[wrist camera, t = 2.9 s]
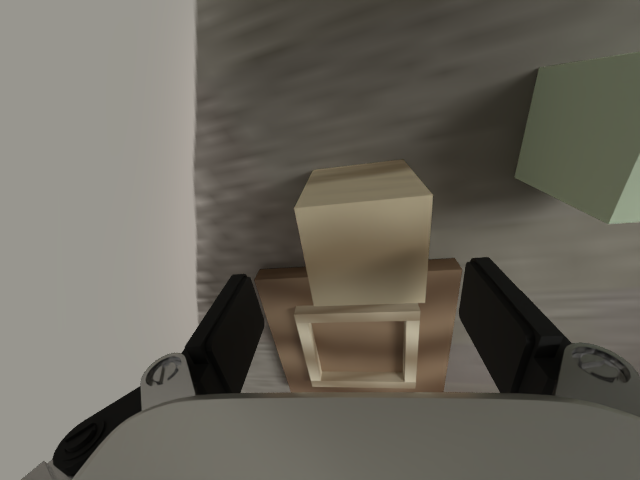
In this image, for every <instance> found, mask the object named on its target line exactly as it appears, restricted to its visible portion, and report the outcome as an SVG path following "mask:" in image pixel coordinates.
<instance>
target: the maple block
mask: <svg viewBox="0 0 640 480" xmlns="http://www.w3.org/2000/svg"><path fill="white" fill-rule="evenodd" d="M432 203H433V194H432V193H431V192H430V191H429V189H428V188H427V187H426V186H425V185H424V184H423V182H422V181H421V180H420V179H419V178H418V176H417V175H416V174H415V173H414V172H413V171H412V169H411V168H410V167H409V166H408V165H407V163H406V162H405V161H404V160H403V159H402V160H393V161H385V162H376V163H368V164H359V165H351V166H342V167H334V168H325V169H317V170H313V171H312V173H311V175H310V177H309V179H308V181H307V183H306V185H305V187H304V189H303V191H302V193H301V195H300V197H299V199H298V201H297V203H296V205H295V207H294V210H295V215H296V220H297V225H298V230H299V235H300V240H301V245H302V250H303V255H304V260H305V265H306V270H307V274H308V279H309V284H310V289H311V294H312V299H313V304H314V306H344V305H375V304H405V303H425V297H426V284H427V270H428V257H429V244H430V230H431V217H432Z"/></svg>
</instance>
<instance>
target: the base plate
mask: <svg viewBox="0 0 640 480" xmlns="http://www.w3.org/2000/svg"><path fill="white" fill-rule="evenodd" d="M461 275H462V268H461V267H460V265H459V264H458V262H457V261H456V259H455V258H449V259H432V260H428V270H427V284H426V297H425V303H405V304H375V305H344V306H314V304H313V299H312V294H311V289H310V284H309V279H308V274H307V270H306V267H292V268H274V269H260V270H259V272H258V274H257V276H256V278H255V279H254V281H255V284H256V287H257V290H258V293H259V296H260V299H261V302H262V305H263V308H264V311H265V314H266V318H267V321H268V324H269V327H270V330H271V333H272V336H273V339H274V342H275V345H276V348H277V351H278V354H279V357H280V360H281V363H282V366H283V369H284V372H285V375H286V378H287V381H288V384H289V387H290V390H291V393H299V392H443V391H444V385H445V378H446V372H447V365H448V359H449V352H450V346H451V339H452V333H453V326H454V320H455V313H456V307H457V300H458V294H459V288H460V281H461Z"/></svg>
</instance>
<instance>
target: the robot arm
mask: <svg viewBox="0 0 640 480" xmlns="http://www.w3.org/2000/svg"><path fill="white" fill-rule="evenodd" d="M459 316H460V319H461V321H462V323H463V325H464V327H465V329H466V331H467V333H468V334H469V336H470V338H471V340H472V342H473V344H474V345H475V347H476V349H477V351H478V353H479V355H480V356H481V358H482V360H483V362H484V364H485V366H486V367H487V369H488V371H489V373H490V375H491V377H492V378H493V380H494V382H495V384H496V386H497V388H498V389H499V391H500V393H473V392H299V393H240V392H241V390H242V387H243V384H244V381H245V379H246V376H247V373H248V370H249V367H250V365H251V362H252V359H253V356H254V353H255V351H256V348H257V345H258V342H259V340H260V337H261V334H262V331H263V328H264V318H263V315H262V312H261V309H260V306H259V302H258V299H257V296H256V293H255V290H254V287H253V284H252V281H251V278H250V277H247V275H246V274H237V275H232V276H231V277H230V279H229V280H228V282H227V283H226V285H225V286H224V288H223V289H222V291H221V292H220V294H219V295H218V297H217V298H216V300H215V302H214V303H213V305H212V306H211V308H210V309H209V311H208V312H207V314H206V315H205V317H204V318H203V320H202V321H201V323H200V324H199V326H198V327H197V329H196V330H195V332H194V333H193V335H192V337H191V338H190V340H189V341H188V343H187V344H186V346H185V349H184V351H183V352H182V353H171V354H168V355H165V356H163V357H161V358H159V359H158V360H156V361H155V362H154V363H152V364H151V365H150V366H149V367H148V369H147V370H146V371H145V372H144V374H143V376H142V378H141V383H140V385H141V386H140V387H138V388H137V389H135V390H134V391H132V392H130V393H128V394H127V395H125V396H124V397H122V398H120V399H119V400H117V401H115V402H114V403H112V404H110V405H109V406H107V407H106V408H104V409H102V410H101V411H99V412H97V413H96V414H94V415H93V416H91V417H89V418H88V419H86V420H84V421H83V422H82V423H80V424H79V425H77V426H76V427H75V428H74V429H72V430H71V431H70V432H69V433H68V434H67V435H66V436H65V438H64V439H63V440H62V441H61V442H60V444H59V445H58V447H57V449H56V450H55V453H54V456H53V459H52V460H51V461H50V462H49V463H46V462H45V461H43V462H42V463H40V464H39V465H38V466H37V467H36V468H34V469H33V470H32V471H31V472H30V473H28V474H27V475H26V476H25V477H23V478H22V479H21V480H640V378H639V375H638V372H637V371H636V370H635V369H634V367H633V366H632V365H631V364H630V363H628V362H627V361H626V360H625V359H624V358H622V357H620V356H619V355H617V354H615V353H614V352H612V351H610V350H607V349H605V348H603V347H600V346H597V345H593V344H589V343H581V342H580V343H571V342H570V341H569V340H568V339H567V338H566V337H565V336H564V335H563V334H562V333H561V332H560V331H559V330H558V329H557V327H556V326H555V325H554V324H553V323H552V322H551V321H550V320H549V319H548V318H547V317H546V316H545V315H544V314H543V313H542V312H541V311H540V310H539V309H538V308H537V307H536V306H535V304H534V303H533V302H532V301H531V300H530V299H529V298H528V297H527V296H526V295H525V294H524V293H523V292H522V291H521V290H519V288H518V287H517V286H516V285H515V284H514V283H513V282H512V281H511V280H510V279H509V278H508V277H507V276H506V275H505V274H504V273H503V272H502V271H501V270H500V269H499V267H498V266H497V265H496V264H495V263H494V262H493V261H492V260H491V259H490V258H488V257H483V258H472V259H471V261H470V262H467V263H466V267H465V274H464V281H463V288H462V294H461V301H460V308H459Z"/></svg>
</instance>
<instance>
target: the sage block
mask: <svg viewBox="0 0 640 480" xmlns="http://www.w3.org/2000/svg"><path fill="white" fill-rule="evenodd" d="M514 178H516V179H518V180H520V181H522V182H524V183H526V184H528V185H530V186H532V187H534V188H536V189H538V190H540V191H542V192H544V193H546V194H548V195H550V196H552V197H554V198H556V199H558V200H560V201H562V202H564V203H566V204H568V205H571V206H573V207H575V208H577V209H579V210H581V211H583V212H585V213H587V214H589V215H591V216H593V217H595V218H597V219H599V220H601V221H603V222H605V223H607V224H619V223H633V222H640V52H634V53H627V54H621V55H615V56H609V57H602V58H596V59H590V60H584V61H577V62H571V63H565V64H559V65H552V66H546V67H540V68H539V70H538V75H537V79H536V83H535V88H534V92H533V97H532V101H531V106H530V110H529V115H528V119H527V124H526V128H525V132H524V137H523V141H522V146H521V150H520V155H519V159H518V164H517V168H516V173H515V177H514Z"/></svg>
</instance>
